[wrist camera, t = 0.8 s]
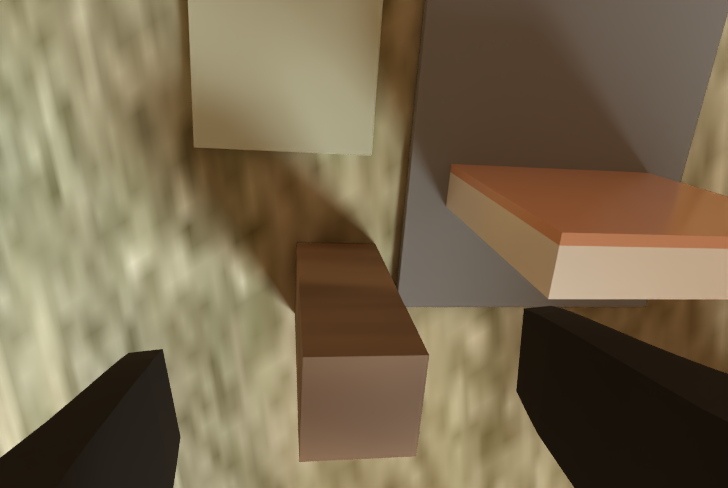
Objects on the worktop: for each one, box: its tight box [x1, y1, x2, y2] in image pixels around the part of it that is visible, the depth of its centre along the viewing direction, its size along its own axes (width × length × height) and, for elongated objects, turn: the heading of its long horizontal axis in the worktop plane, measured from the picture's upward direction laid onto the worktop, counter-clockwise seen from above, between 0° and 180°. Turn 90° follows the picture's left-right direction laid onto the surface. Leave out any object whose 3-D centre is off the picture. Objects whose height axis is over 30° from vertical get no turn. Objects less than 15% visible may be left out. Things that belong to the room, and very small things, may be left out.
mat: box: [396, 0, 728, 307], centre depth 19 cm, size 16×11×1 cm
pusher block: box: [295, 242, 429, 462], centre depth 16 cm, size 3×3×8 cm
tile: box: [446, 164, 728, 299], centre depth 16 cm, size 2×8×8 cm, turn 86°
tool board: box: [188, 0, 383, 156], centre depth 17 cm, size 6×6×1 cm
